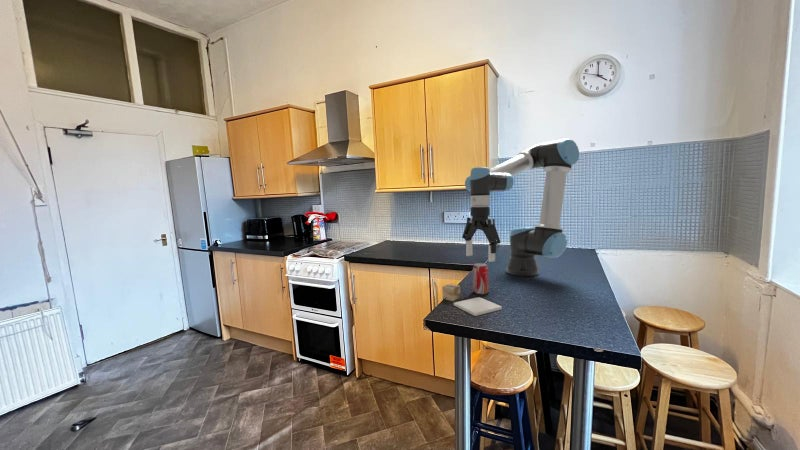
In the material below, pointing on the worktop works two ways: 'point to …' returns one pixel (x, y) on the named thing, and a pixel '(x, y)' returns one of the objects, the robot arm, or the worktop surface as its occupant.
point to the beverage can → (480, 278)
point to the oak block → (451, 292)
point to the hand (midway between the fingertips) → (480, 258)
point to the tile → (477, 306)
